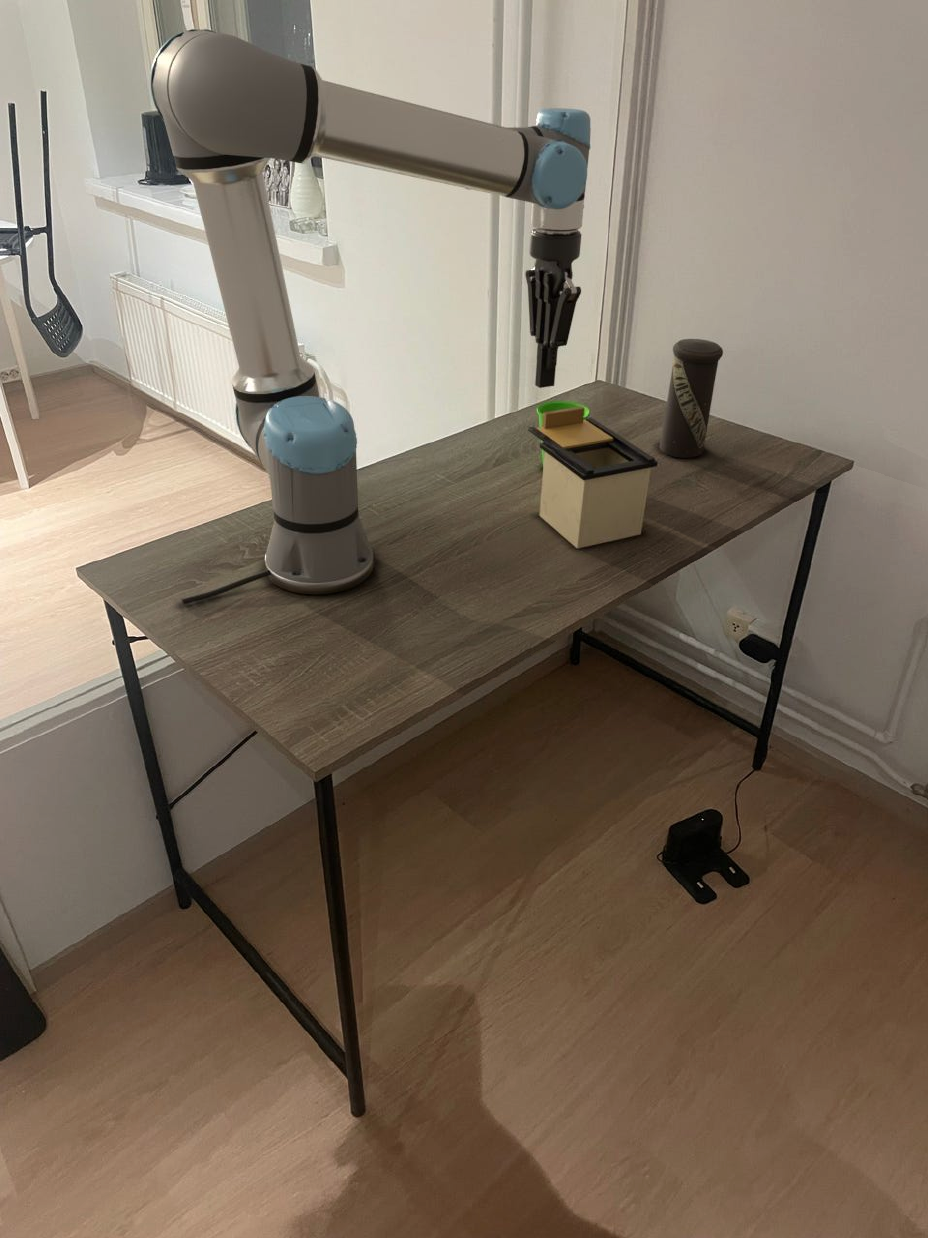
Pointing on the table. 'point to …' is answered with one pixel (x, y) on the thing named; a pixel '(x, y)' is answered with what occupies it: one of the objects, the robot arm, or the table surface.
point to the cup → (557, 406)
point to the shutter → (571, 428)
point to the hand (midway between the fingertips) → (544, 385)
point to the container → (689, 397)
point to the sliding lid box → (594, 488)
